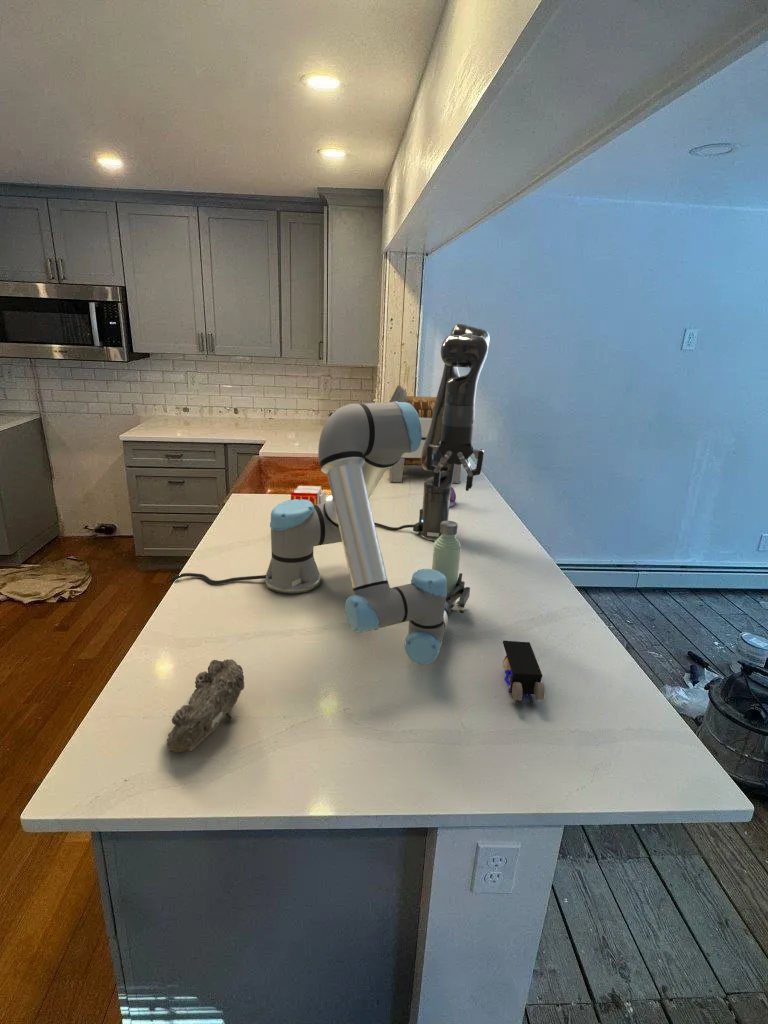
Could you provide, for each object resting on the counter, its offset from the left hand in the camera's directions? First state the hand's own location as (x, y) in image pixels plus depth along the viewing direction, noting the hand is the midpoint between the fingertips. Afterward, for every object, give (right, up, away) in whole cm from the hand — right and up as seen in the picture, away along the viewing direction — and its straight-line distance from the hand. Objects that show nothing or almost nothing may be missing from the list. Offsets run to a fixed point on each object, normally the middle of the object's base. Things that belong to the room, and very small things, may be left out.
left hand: (446, 575), depth 155 cm
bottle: (-2, -8, -2) cm, 8 cm away
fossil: (-50, -22, -47) cm, 72 cm away
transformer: (0, +36, +120) cm, 125 cm away
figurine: (+8, +21, +77) cm, 80 cm away
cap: (-1, +14, -10) cm, 18 cm away
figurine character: (+12, -20, -35) cm, 42 cm away
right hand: (0, +23, -14) cm, 27 cm away
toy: (-46, +15, +56) cm, 74 cm away
